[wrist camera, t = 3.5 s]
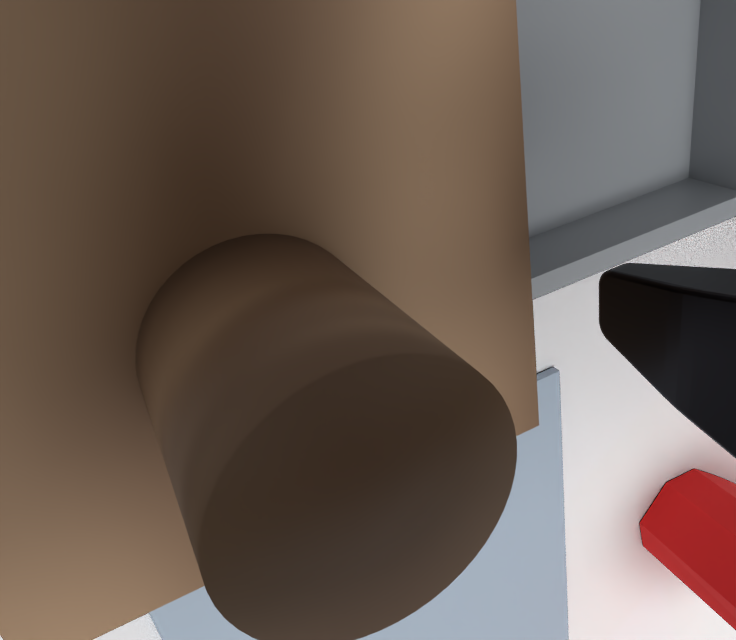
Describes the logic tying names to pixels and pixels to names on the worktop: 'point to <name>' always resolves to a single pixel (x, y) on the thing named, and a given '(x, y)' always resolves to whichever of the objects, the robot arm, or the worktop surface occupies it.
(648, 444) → the worktop surface
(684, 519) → the french fries
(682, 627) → the worktop surface
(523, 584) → the mat
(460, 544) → the brown knobbed box
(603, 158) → the tray
